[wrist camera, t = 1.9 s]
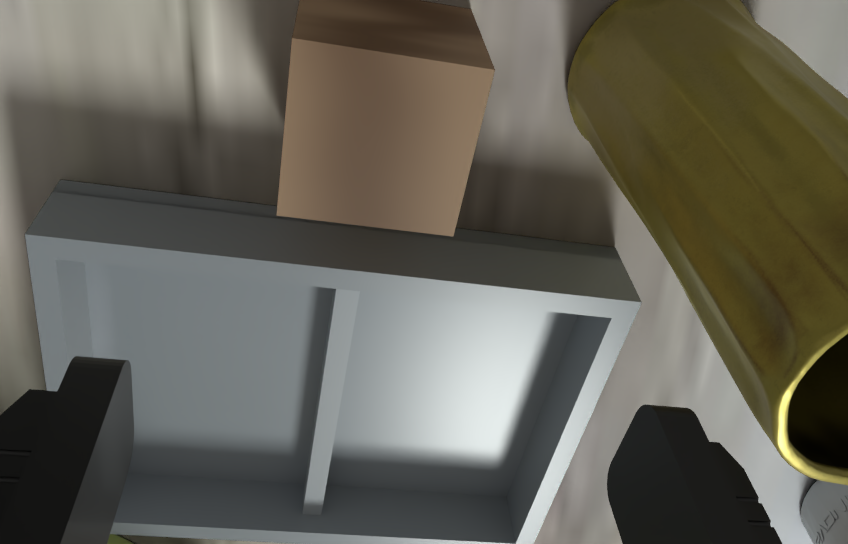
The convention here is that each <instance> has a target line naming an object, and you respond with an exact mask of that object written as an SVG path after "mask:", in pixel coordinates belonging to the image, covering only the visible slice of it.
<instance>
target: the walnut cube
mask: <svg viewBox="0 0 848 544" xmlns="http://www.w3.org/2000/svg"><path fill="white" fill-rule="evenodd" d="M494 72H495V69H494V66H493V64H492V61H491V59H490V56H489V54H488V51H487V49H486V46H485V43H484V41H483V38H482V36H481V33H480V31H479V28H478V26H477V23H476V21H475V18H474V16H473V13H472V10H471V9H467V8H461V7H456V6H450V5H444V4H438V3H432V2H426V1H421V0H300V1H299V6H298V11H297V16H296V21H295V26H294V31H293V35H292V44H291V55H290V66H289V78H288V89H287V101H286V112H285V124H284V135H283V147H282V158H281V170H280V181H279V193H278V204H277V216H285V217H293V218H301V219H310V220H318V221H327V222H335V223H343V224H352V225H360V226H369V227H377V228H386V229H394V230H402V231H411V232H419V233H428V234H436V235H444V236H454V232H455V228H456V224H457V220H458V216H459V212H460V208H461V204H462V200H463V196H464V192H465V188H466V184H467V180H468V176H469V172H470V168H471V164H472V160H473V156H474V152H475V148H476V144H477V140H478V136H479V132H480V128H481V124H482V120H483V116H484V112H485V108H486V104H487V100H488V96H489V92H490V88H491V84H492V80H493V76H494Z"/></svg>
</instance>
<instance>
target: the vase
mask: <svg viewBox="0 0 848 544" xmlns="http://www.w3.org/2000/svg"><path fill="white" fill-rule="evenodd" d="M567 90H568V101H569V106H570V110H571V114H572V117H573V119H574V122H575V124H576V126H577V128H578V130H579V131H580V133H581V134H582V135H583V136H584V138H585V139H586V140H587V141H589V142H590V144H591V145H592V147H593V149H594V150H595V152H596V154H597V155H598V157H599V158H600V160H601V161H602V163H603V164H604V166H605V168H606V169H607V171H608V172H609V174H610V175H611V177H612V178H613V180H614V181H615V182H616V184H617V185H618V187H619V188H620V190H621V191H622V193H623V194H624V195H625V197H626V198H627V200H628V201H629V203H630V204H631V205H632V207H633V208H634V210H635V211H636V213H637V214H638V215H639V217H640V218H641V220H642V221H643V223H644V224H645V226H646V227H647V229H648V231H649V232H650V234H651V235H652V237H653V238H654V240H655V241H656V243H657V244H658V246H659V247H660V249H661V251H662V252H663V254H664V256H665V257H666V259H667V261H668V262H669V264H670V265H671V267H672V269H673V270H674V272H675V274H676V276H677V278H678V280H679V282H680V283H681V285H682V287H683V289H684V291H685V293H686V295H687V297H688V298H689V300H690V302H691V304H692V306H693V308H694V309H695V311H696V313H697V315H698V317H699V318H700V320H701V322H702V324H703V326H704V328H705V329H706V331H707V333H708V335H709V337H710V338H711V340H712V342H713V344H714V346H715V347H716V349H717V351H718V353H719V355H720V356H721V358H722V360H723V362H724V363H725V365H726V367H727V369H728V371H729V372H730V374H731V376H732V378H733V379H734V381H735V383H736V385H737V387H738V388H739V390H740V392H741V394H742V395H743V397H744V399H745V401H746V403H747V404H748V406H749V408H750V409H751V411H752V413H753V414H754V416H755V418H756V419H757V421H758V422H759V424H760V425H761V427H762V428H763V430H764V431H765V433H766V434H767V436H768V437H769V438H770V440H771V441H772V443H773V444H774V446H775V447H776V449H777V451H778V452H779V454H780V455H781V457H782V458H783V459H784V460H785V461H786V462H787V463H788V464H789V465H790V466H792V467H793V468H794V469H796V470H797V471H798V472H800V473H802V474H804V475H806V476H808V477H810V478H813V479H817V480H820V481H825V482H830V483H836V484H843V485H848V98H846V97H845V96H844V95H843V94H842V93H840V92H839V91H838V90H837V89H835V88H834V87H833V86H832V85H830V84H829V83H828V82H827V81H825V80H824V79H823V78H822V77H821V76H819V75H818V74H817V73H816V72H815V71H814V70H812V69H811V68H810V67H809V66H808V65H807V64H806V63H805V62H804V61H803V60H802V59H801V58H799V57H798V56H797V55H796V54H795V53H794V52H793V51H792V50H791V49H790V48H788V47H787V46H786V45H785V44H784V43H782V42H781V41H780V40H779V39H777V38H776V37H774V36H773V35H772V34H770V33H769V32H767V31H766V30H764V29H763V28H762V27H760V26H759V25H758V24H757V23H756V22H755V20H754V19H753V17H752V16H751V14H750V13H749V11H748V10H747V8H746V7H745V6H744V4H743V3H742V2H741V1H740V0H618V1H616V2H615V3H614V4H612V5H611V6H610V7H609V8H608V9H607V10H606V11H605V12H604V13H603V14H602V15H601V16H600V17H599V18H598V19H597V20H596V21H595V23H594V24H593V25H592V27H591V28H590V29H589V31H588V32H587V34H586V35H585V37H584V38H583V40H582V41H581V43H580V45H579V47H578V49H577V51H576V53H575V56H574V59H573V62H572V65H571V69H570V73H569V78H568V87H567Z"/></svg>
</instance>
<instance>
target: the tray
mask: <svg viewBox="0 0 848 544" xmlns="http://www.w3.org/2000/svg"><path fill="white" fill-rule="evenodd" d="M25 239H26V246H27V253H28V260H29V267H30V274H31V281H32V289H33V296H34V303H35V310H36V317H37V324H38V331H39V339H40V346H41V353H42V360H43V367H44V374H45V381H46V389H47V391H58V389H59V387H60V384H61V382H62V380H63V377H64V375H65V373H66V370H67V368H68V366H69V364H70V362H71V360H72V359H73V358H74V357H75V356H82V357H94V358H106V359H118V360H129V362H130V364H131V374H132V394H133V414H134V443H133V451H132V458H131V463H130V467H129V471H128V475H127V478H126V482H125V485H124V488H123V492H122V495H121V498H120V502H119V505H118V509H117V512H116V515H115V519H114V522H113V526H112V529H111V532H110V534H118V535H138V536H157V537H177V538H197V539H217V540H236V541H256V542H276V543H295V544H534V541H535V539H536V537H537V535H538V533H539V530H540V528H541V526H542V524H543V521H544V519H545V517H546V515H547V512H548V510H549V508H550V506H551V504H552V501H553V499H554V497H555V495H556V492H557V490H558V488H559V486H560V483H561V481H562V479H563V477H564V475H565V472H566V470H567V468H568V466H569V463H570V461H571V459H572V457H573V454H574V452H575V450H576V448H577V446H578V443H579V441H580V439H581V437H582V434H583V432H584V430H585V428H586V425H587V423H588V421H589V419H590V417H591V414H592V412H593V410H594V408H595V405H596V403H597V401H598V399H599V396H600V394H601V392H602V390H603V388H604V385H605V383H606V381H607V379H608V376H609V374H610V372H611V370H612V367H613V365H614V363H615V361H616V359H617V356H618V354H619V352H620V350H621V347H622V345H623V343H624V341H625V338H626V336H627V334H628V332H629V330H630V327H631V325H632V323H633V321H634V318H635V316H636V314H637V312H638V309H639V307H640V305H641V303H642V302H641V300H640V298H639V296H638V294H637V292H636V290H635V288H634V286H633V283H632V281H631V279H630V277H629V275H628V273H627V271H626V269H625V267H624V265H623V263H622V261H621V259H620V256H619V254H618V252H617V250H616V248H614V247H606V246H598V245H590V244H582V243H574V242H565V241H557V240H549V239H541V238H533V237H525V236H516V235H508V234H500V233H492V232H484V231H476V230H467V229H459V228H455V232H454V236H444V235H436V234H428V233H419V232H411V231H402V230H394V229H386V228H377V227H369V226H360V225H352V224H343V223H335V222H327V221H318V220H310V219H301V218H293V217H285V216H277V206H271V205H263V204H255V203H247V202H239V201H230V200H222V199H214V198H206V197H198V196H190V195H181V194H173V193H165V192H157V191H149V190H141V189H132V188H124V187H116V186H108V185H100V184H92V183H83V182H75V181H67V180H60V181H59V183H58V184H57V186H56V187H55V189H54V190H53V192H52V193H51V195H50V196H49V198H48V199H47V201H46V203H45V204H44V206H43V207H42V209H41V210H40V212H39V213H38V215H37V216H36V218H35V219H34V221H33V223H32V224H31V226H30V227H29V229H28V230H27V232H26V233H25Z"/></svg>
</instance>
